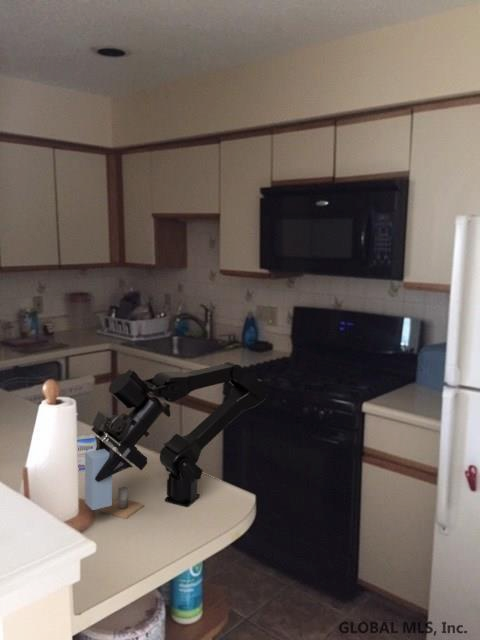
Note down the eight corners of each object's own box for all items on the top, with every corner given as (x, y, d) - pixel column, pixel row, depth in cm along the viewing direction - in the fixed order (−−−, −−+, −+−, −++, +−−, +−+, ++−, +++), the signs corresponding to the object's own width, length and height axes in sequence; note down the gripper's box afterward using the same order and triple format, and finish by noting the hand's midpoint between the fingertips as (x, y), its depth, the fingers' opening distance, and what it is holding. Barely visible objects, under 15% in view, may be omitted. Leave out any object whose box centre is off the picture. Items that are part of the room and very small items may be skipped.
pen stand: (144, 506, 134) (144, 486, 133) (126, 519, 127) (126, 498, 127) (119, 499, 137) (119, 479, 136) (101, 511, 130) (101, 491, 130)
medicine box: (66, 472, 151) (66, 441, 150) (63, 466, 155) (63, 435, 154) (96, 468, 155) (96, 437, 153) (92, 462, 158) (92, 432, 157)
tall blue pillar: (104, 497, 128) (104, 448, 126) (111, 505, 124) (112, 455, 123) (85, 502, 125) (85, 452, 124) (92, 510, 122) (92, 459, 120)
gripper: (99, 388, 131) (52, 442, 127) (134, 410, 116) (81, 472, 112) (131, 416, 137) (86, 469, 132) (167, 440, 122) (119, 500, 117)
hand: (92, 476), depth 123 cm, fingers closed on tall blue pillar, 4 cm apart
